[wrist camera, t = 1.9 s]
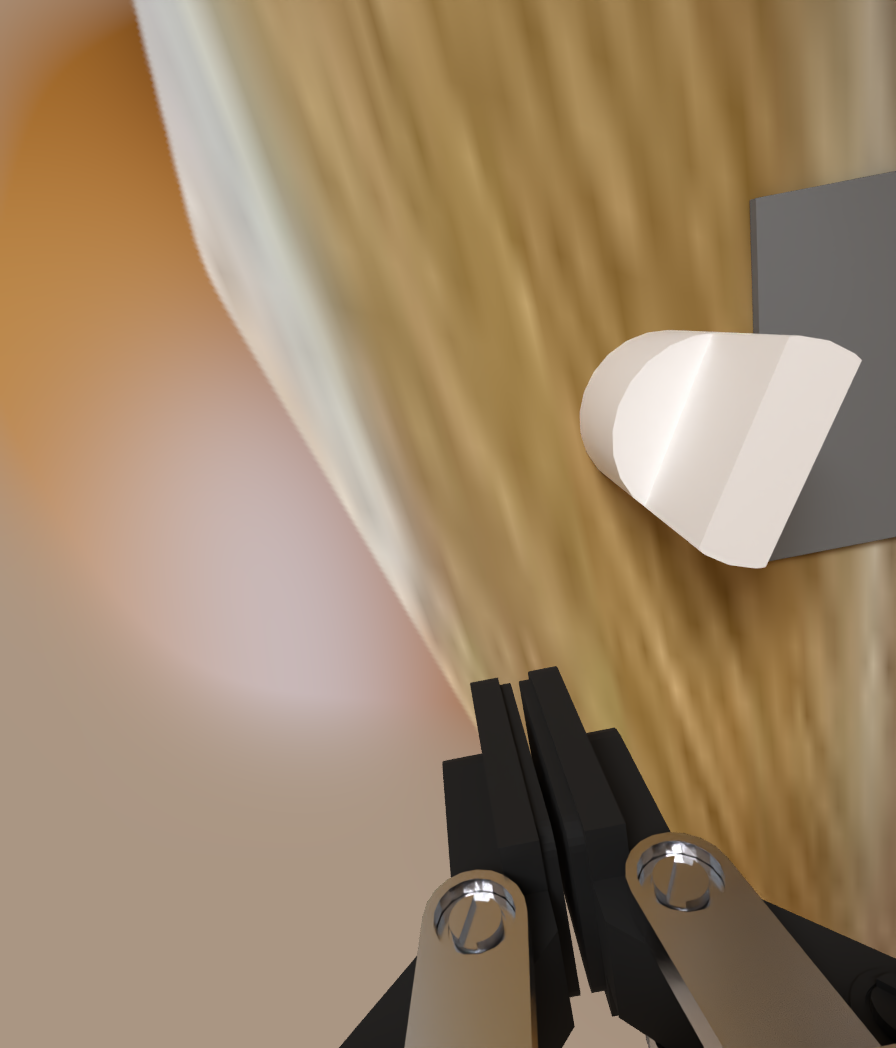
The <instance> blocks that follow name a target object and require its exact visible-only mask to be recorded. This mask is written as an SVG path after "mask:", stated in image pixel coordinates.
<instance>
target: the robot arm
mask: <svg viewBox="0 0 896 1048" xmlns="http://www.w3.org/2000/svg"><path fill="white" fill-rule="evenodd" d="M528 676H529V680H523V681H519V686H520V692H521V698H522V704H523V710H524V716H525V721H526V727H527V733H528V739H529V745H530V750H531V754H530V750H529V747H528V743H527V740H526V736H525V733H524V729H523V726H522V722H521V719H520V715H519V712H518V708H517V704H516V701H515V697H514V694H513V690H512V687H511V684H510V683H508V684H503V685H500V684H499V681H498V678H493V679H488V680H483V681H478V682H473V683H470V686H471V692H472V697H473V703H474V709H475V715H476V721H477V726H478V732H479V738H480V744H481V750H482V754H477V755H472V756H467V757H462V758H457V759H452V760H447V761H443V780H444V793H445V806H446V817H447V818H446V819H447V832H448V845H449V858H450V871H451V878H450V879H448V880H446V881H445V882H444V883H443V884H442V885H440V886H439V887H438V888H437V889H436V890H435V891H434V893H433V894H432V896H431V897H430V899H429V900H428V902H427V904H426V907H425V911H424V914H423V917H422V924H421V932H420V939H419V947H418V953H417V956H416V958H415V959H414V960H413V961H412V962H411V964H410V965H409V966H408V967H407V968H406V970H405V971H404V972H403V973H402V974H401V975H400V977H399V978H398V979H397V980H396V981H395V982H394V984H393V985H392V986H391V987H390V988H389V989H388V991H387V992H386V993H385V994H384V995H383V997H382V998H381V999H380V1000H379V1001H378V1003H377V1004H376V1005H375V1006H374V1007H373V1008H372V1010H371V1011H370V1012H369V1013H368V1014H367V1016H366V1017H365V1018H364V1019H363V1020H362V1021H361V1023H360V1024H359V1025H358V1026H357V1027H356V1028H355V1030H354V1031H353V1032H352V1033H351V1034H350V1036H349V1037H348V1038H347V1039H346V1040H345V1041H344V1043H343V1044H342V1045H341V1046H340V1047H339V1048H562V1047H563V1045H564V1043H565V1042H566V1040H567V1038H568V1037H569V1035H570V1033H571V1031H572V1030H573V1028H574V1021H573V1015H572V1009H571V1003H570V998H569V997H574V996H579V995H580V988H579V982H578V977H577V970H576V964H575V958H574V952H573V946H572V940H571V934H570V929H569V922H568V916H567V911H566V904H565V899H566V903H567V906H568V910H569V913H570V917H571V921H572V924H573V928H574V932H575V935H576V939H577V943H578V946H579V950H580V954H581V957H582V961H583V965H584V968H585V971H586V975H587V979H588V983H589V986H590V989H591V992H592V993H594V992H599V991H605V994H606V997H607V1001H608V1004H609V1007H610V1011H611V1014H612V1016H618V1015H619V1018H621V1019H622V1020H624V1021H625V1022H627V1023H628V1024H630V1025H631V1026H633V1027H634V1028H636V1029H637V1030H639V1031H640V1032H642V1033H643V1034H645V1035H646V1040H647V1044H648V1047H649V1048H896V959H895V958H893V957H891V956H888V955H886V954H884V953H882V952H879V951H877V950H875V949H873V948H870V947H868V946H866V945H864V944H861V943H859V942H857V941H855V940H852V939H850V938H848V937H846V936H843V935H841V934H839V933H837V932H834V931H832V930H830V929H828V928H825V927H823V926H821V925H819V924H816V923H814V922H812V921H810V920H807V919H805V918H803V917H801V916H798V915H796V914H794V913H792V912H789V911H787V910H785V909H783V908H780V907H778V906H776V905H773V904H771V903H769V902H767V901H764V900H762V899H761V898H760V897H759V895H758V894H757V893H756V892H755V890H754V889H753V888H752V887H751V886H750V884H749V883H748V882H747V881H746V879H745V878H744V877H743V876H742V875H741V873H740V872H739V871H738V870H737V868H736V867H735V866H734V865H733V863H732V862H731V861H730V860H729V859H728V857H727V856H725V855H724V854H723V853H722V852H721V851H720V850H719V849H718V848H717V847H716V846H714V845H712V844H711V843H709V842H707V841H705V840H703V839H702V838H699V837H696V836H692V835H689V834H685V833H672V832H670V830H669V828H668V826H667V824H666V822H665V820H664V818H663V817H662V815H661V813H660V811H659V809H658V807H657V805H656V803H655V801H654V799H653V797H652V795H651V793H650V791H649V790H648V788H647V786H646V784H645V782H644V780H643V778H642V776H641V774H640V772H639V770H638V768H637V766H636V764H635V763H634V761H633V759H632V757H631V755H630V753H629V751H628V749H627V747H626V745H625V743H624V741H623V739H622V737H621V736H620V734H619V732H618V731H617V729H615V728H610V729H605V730H600V731H595V732H590V733H586V732H585V729H584V727H583V725H582V723H581V720H580V718H579V716H578V713H577V711H576V709H575V707H574V704H573V702H572V700H571V697H570V695H569V693H568V691H567V688H566V686H565V684H564V681H563V679H562V677H561V675H560V672H559V670H558V668H557V667H556V666H555V667H549V668H544V669H539V670H534V671H529V672H528ZM531 756H532V757H531ZM564 895H565V898H564Z"/></svg>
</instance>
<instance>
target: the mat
mask: <svg viewBox="0 0 896 1048" xmlns="http://www.w3.org/2000/svg"><path fill="white" fill-rule="evenodd" d="M750 225H751V261H752V296H753V332H754V334H775V335H799V336H805V337H811V338H817V339H823V340H829V341H831V342H833V343H835V344H837V345H839V346H841V347H843V348H845V349H847V350H849V351H851V352H853V353H855V354H856V355H857V356H858V357H859V358H860V359H861V360H862V361H861V363H860V365H859V367H858V370H857V372H856V374H855V376H854V378H853V380H852V383H851V385H850V387H849V389H848V391H847V393H846V395H845V398H844V400H843V402H842V404H841V406H840V408H839V410H838V413H837V415H836V417H835V419H834V421H833V423H832V425H831V428H830V430H829V432H828V434H827V436H826V438H825V441H824V443H823V445H822V447H821V449H820V451H819V453H818V456H817V458H816V460H815V462H814V464H813V466H812V468H811V471H810V473H809V475H808V477H807V479H806V481H805V484H804V486H803V488H802V490H801V492H800V494H799V496H798V499H797V501H796V503H795V505H794V507H793V509H792V511H791V514H790V516H789V518H788V520H787V522H786V524H785V526H784V529H783V531H782V533H781V535H780V537H779V539H778V542H777V544H776V546H775V548H774V550H773V552H772V554H771V557H770V559H769V561H773V560H778V559H783V558H788V557H793V556H799V555H804V554H809V553H814V552H819V551H824V550H830V549H835V548H840V547H845V546H850V545H856V544H861V543H866V542H871V541H876V540H881V539H887V538H892V537H896V171H894V172H888V173H883V174H878V175H873V176H868V177H863V178H858V179H853V180H847V181H842V182H837V183H832V184H827V185H822V186H817V187H811V188H806V189H801V190H796V191H791V192H786V193H781V194H775V195H770V196H765V197H760V198H755V199H752V200H750Z"/></svg>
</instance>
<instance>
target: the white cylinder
mask: <svg viewBox="0 0 896 1048" xmlns="http://www.w3.org/2000/svg"><path fill="white" fill-rule="evenodd" d="M861 361H862V360H861V359H860V358H859V357H858V356H857V355H856V354H855V353H853V352H851V351H849V350H847V349H845V348H843V347H841V346H839V345H837V344H835V343H833V342H831V341H829V340H823V339H817V338H811V337H805V336H799V335H775V334H751V333H727V332H703V331H679V330H665V331H657V332H649V333H645V334H643V335H640V336H638V337H635V338H633V339H630V340H628V341H626V342H625V343H623V344H622V345H621V346H619V347H618V348H616V349H615V350H614V351H612V352H611V353H610V354H608V356H607V357H606V358H605V359H604V360H603V362H602V363H601V364H600V365H599V366H598V368H597V369H596V370H595V371H594V373H593V375H592V377H591V379H590V381H589V383H588V385H587V387H586V389H585V391H584V395H583V400H582V405H581V409H580V430H581V436H582V439H583V443H584V446H585V449H586V452H587V454H588V455H589V457H590V458H591V460H592V461H593V463H594V464H595V466H596V467H597V469H598V470H600V471H601V472H602V473H603V474H604V475H606V476H607V477H608V478H609V479H611V480H612V481H613V482H614V483H615V484H617V485H618V486H619V487H620V488H622V489H623V490H624V491H625V492H627V493H628V494H629V495H630V496H632V497H633V498H634V499H635V500H637V501H638V502H639V503H640V504H642V505H643V506H644V507H645V508H647V509H648V510H649V511H651V512H652V513H653V514H654V515H656V516H657V517H658V518H659V519H661V520H662V521H663V522H664V523H666V524H667V525H668V526H669V527H671V528H672V529H673V530H674V531H676V532H677V533H678V534H679V535H681V536H682V537H683V538H684V539H686V540H687V541H688V542H689V543H691V544H692V545H693V546H694V547H696V548H697V549H698V550H699V551H701V552H702V553H703V554H704V555H707V556H709V557H711V558H714V559H716V560H718V561H721V562H723V563H726V564H728V565H733V566H741V567H749V568H764V567H766V565H767V563H768V561H769V559H770V557H771V554H772V552H773V550H774V548H775V546H776V544H777V542H778V539H779V537H780V535H781V533H782V531H783V529H784V526H785V524H786V522H787V520H788V518H789V516H790V514H791V511H792V509H793V507H794V505H795V503H796V501H797V499H798V496H799V494H800V492H801V490H802V488H803V486H804V484H805V481H806V479H807V477H808V475H809V473H810V471H811V468H812V466H813V464H814V462H815V460H816V458H817V456H818V453H819V451H820V449H821V447H822V445H823V443H824V441H825V438H826V436H827V434H828V432H829V430H830V428H831V425H832V423H833V421H834V419H835V417H836V415H837V413H838V410H839V408H840V406H841V404H842V402H843V400H844V398H845V395H846V393H847V391H848V389H849V387H850V385H851V383H852V380H853V378H854V376H855V374H856V372H857V370H858V367H859V365H860V363H861Z"/></svg>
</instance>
